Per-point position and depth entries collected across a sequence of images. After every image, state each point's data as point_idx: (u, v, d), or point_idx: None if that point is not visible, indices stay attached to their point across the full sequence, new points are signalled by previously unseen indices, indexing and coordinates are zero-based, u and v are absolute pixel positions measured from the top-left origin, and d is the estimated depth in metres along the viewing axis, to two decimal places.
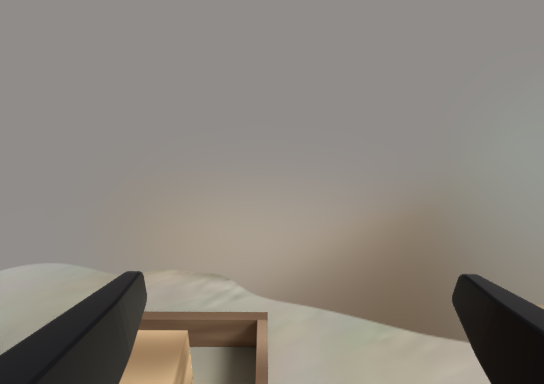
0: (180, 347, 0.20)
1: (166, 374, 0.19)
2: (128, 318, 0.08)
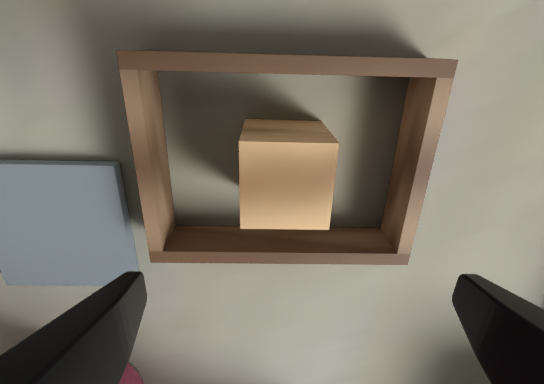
0: (332, 172, 0.15)
1: (321, 207, 0.15)
2: (128, 318, 0.08)
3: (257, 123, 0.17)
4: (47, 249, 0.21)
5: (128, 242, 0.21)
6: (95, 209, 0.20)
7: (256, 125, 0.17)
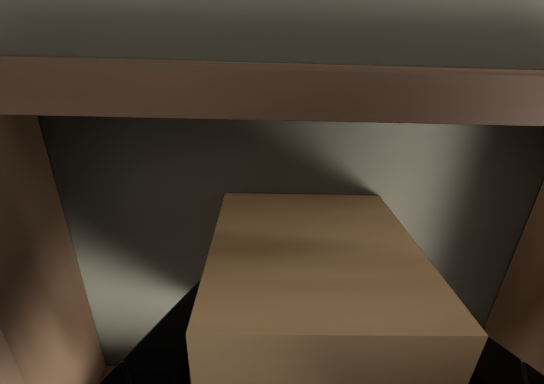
0: None
1: None
2: None
3: (249, 213, 0.08)
4: None
5: None
6: None
7: (246, 222, 0.08)
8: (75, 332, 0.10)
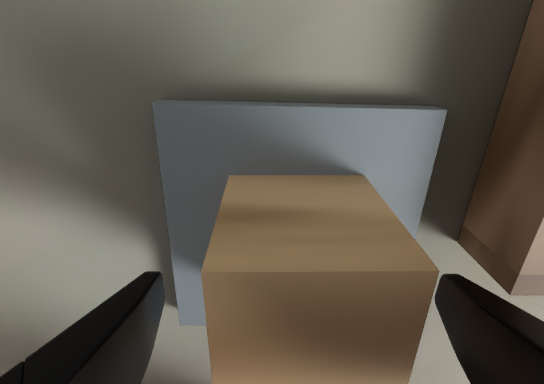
0: (416, 325, 0.07)
1: None
2: (149, 318, 0.08)
3: (250, 190, 0.09)
4: None
5: None
6: None
7: (248, 196, 0.09)
8: None
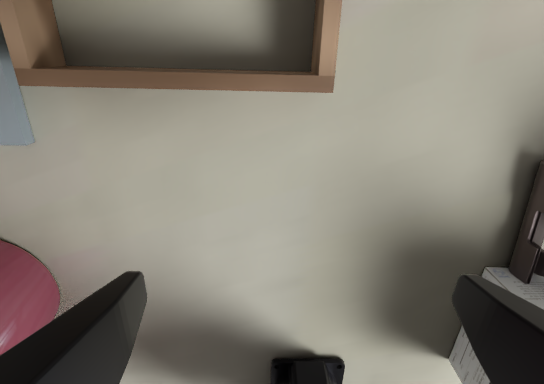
0: None
1: None
2: (128, 318, 0.08)
3: None
4: None
5: (8, 83, 0.18)
6: None
7: None
8: (42, 7, 0.16)
